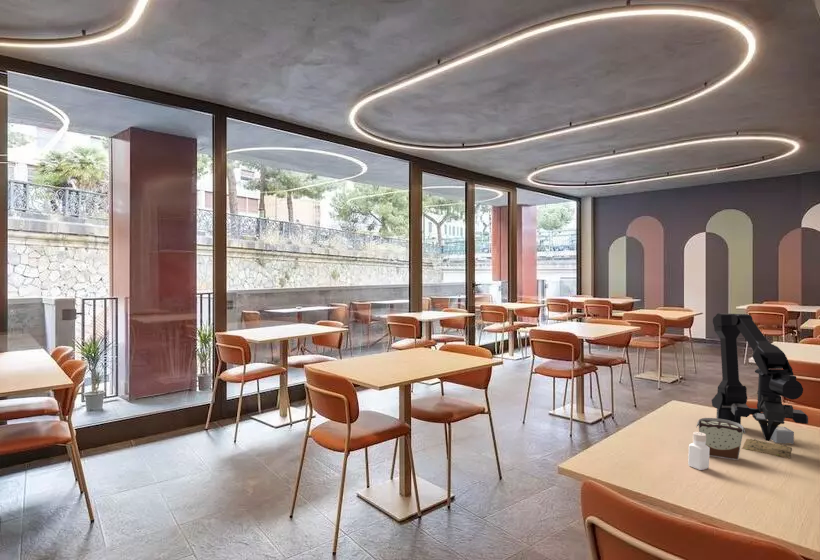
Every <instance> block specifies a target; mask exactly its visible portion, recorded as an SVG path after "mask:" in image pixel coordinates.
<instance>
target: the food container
mask: <svg viewBox="0 0 820 560" xmlns="http://www.w3.org/2000/svg"><path fill="white" fill-rule="evenodd" d="M695 428H698V432H701V433H704V434H706V445H707V446H708V447H709V448H710V451H709V457H712V458H713V457H715V458H721V459H727V460H734V461H739V460H740V459H739V457H740V452H741V445H742V440H743V434H746V430H745V427H744V426H743V425H742V423H741V424H738V423H736V422H733V421H729V420H724V419H718V418H717V417H703V418H699V419H698V421H697V423H696V426H695Z"/></svg>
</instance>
